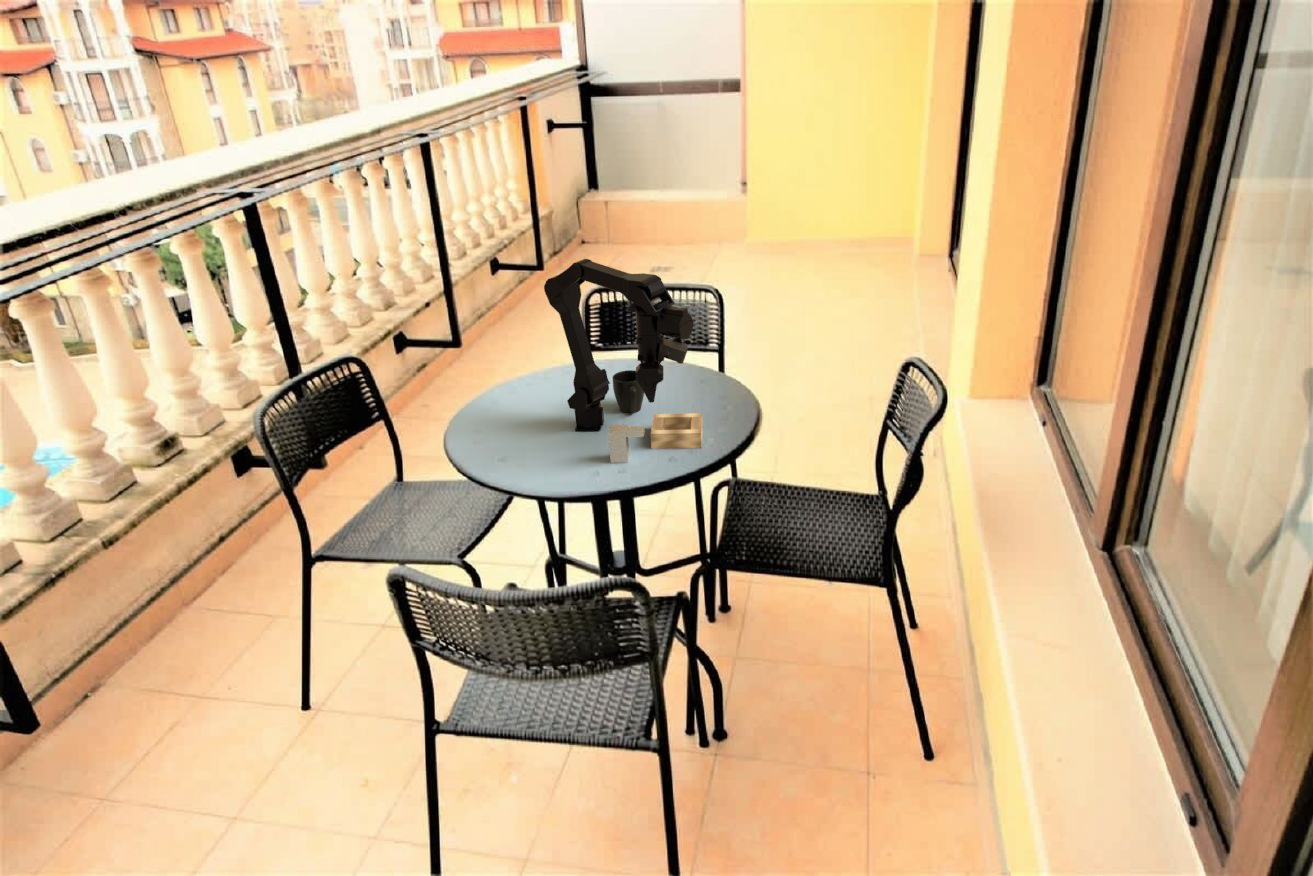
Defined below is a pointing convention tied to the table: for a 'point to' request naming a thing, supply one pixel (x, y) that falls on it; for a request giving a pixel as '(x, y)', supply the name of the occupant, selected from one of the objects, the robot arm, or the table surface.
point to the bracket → (622, 441)
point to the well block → (676, 431)
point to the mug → (627, 391)
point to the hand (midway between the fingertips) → (652, 394)
